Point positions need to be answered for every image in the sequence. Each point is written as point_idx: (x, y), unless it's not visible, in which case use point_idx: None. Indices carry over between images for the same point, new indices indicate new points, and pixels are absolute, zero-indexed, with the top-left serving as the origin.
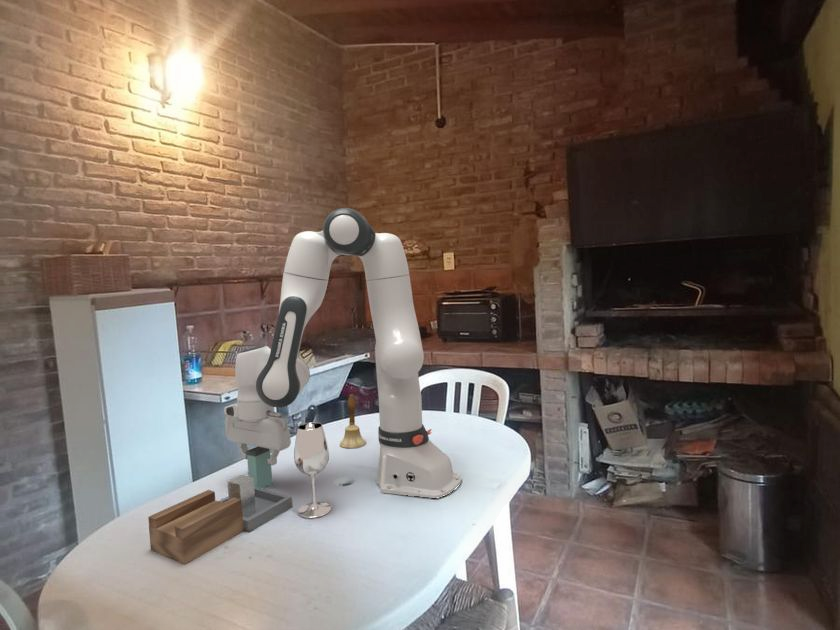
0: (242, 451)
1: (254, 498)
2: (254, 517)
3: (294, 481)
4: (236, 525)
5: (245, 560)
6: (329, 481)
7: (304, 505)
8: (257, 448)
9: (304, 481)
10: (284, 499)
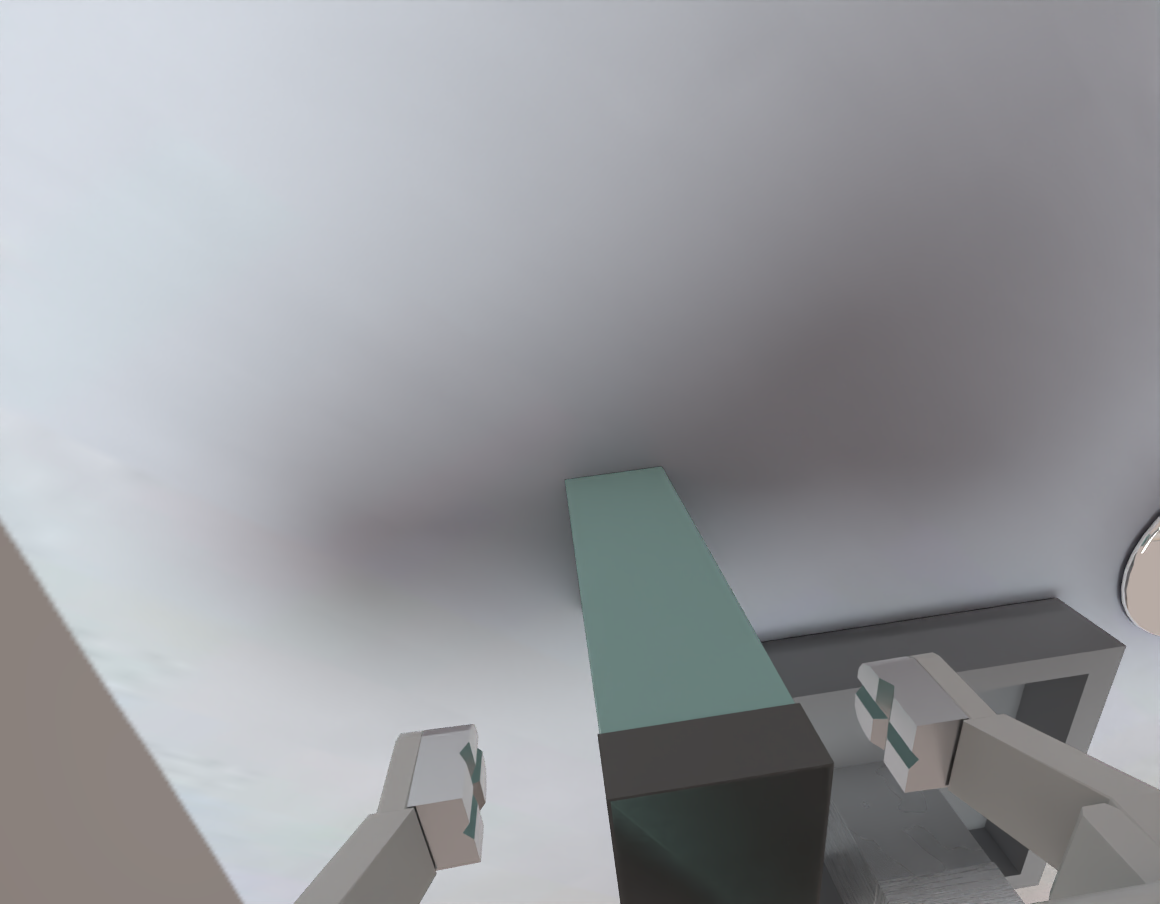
0: (420, 898)
1: (974, 840)
2: None
3: (804, 329)
4: None
5: None
6: (1129, 130)
7: (1145, 564)
8: (696, 899)
9: (892, 275)
10: (1097, 690)
